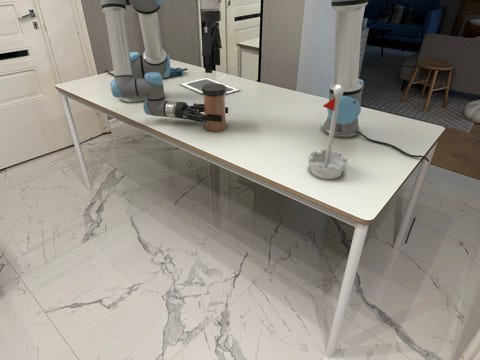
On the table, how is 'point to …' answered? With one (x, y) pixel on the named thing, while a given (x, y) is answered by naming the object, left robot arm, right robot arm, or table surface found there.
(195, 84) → the tablet
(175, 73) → the submachine gun
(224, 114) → the jar
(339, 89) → the flag stand
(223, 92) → the lid
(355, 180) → the table surface
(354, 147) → the table surface
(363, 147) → the table surface
